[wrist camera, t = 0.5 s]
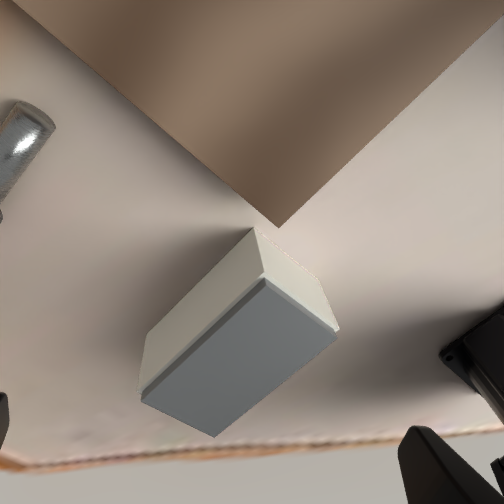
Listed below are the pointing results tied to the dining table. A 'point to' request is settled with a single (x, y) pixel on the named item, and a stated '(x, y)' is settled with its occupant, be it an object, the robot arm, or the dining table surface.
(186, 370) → the block
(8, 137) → the bolt
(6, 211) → the dining table surface
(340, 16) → the stand
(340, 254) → the dining table surface
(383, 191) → the dining table surface
